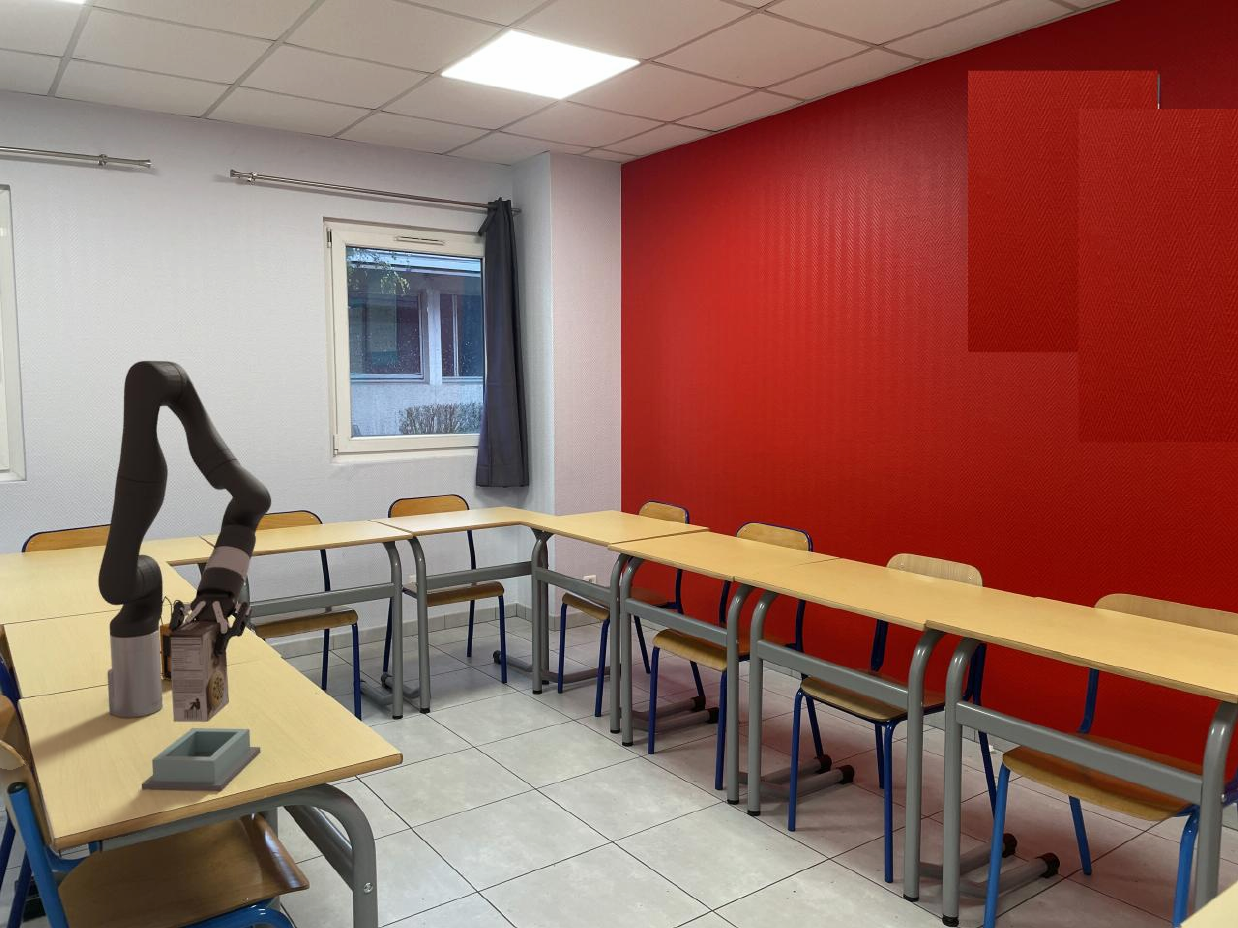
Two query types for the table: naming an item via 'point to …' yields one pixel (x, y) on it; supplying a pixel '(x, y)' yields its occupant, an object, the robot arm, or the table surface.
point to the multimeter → (166, 647)
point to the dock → (202, 760)
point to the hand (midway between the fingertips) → (197, 655)
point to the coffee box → (197, 672)
